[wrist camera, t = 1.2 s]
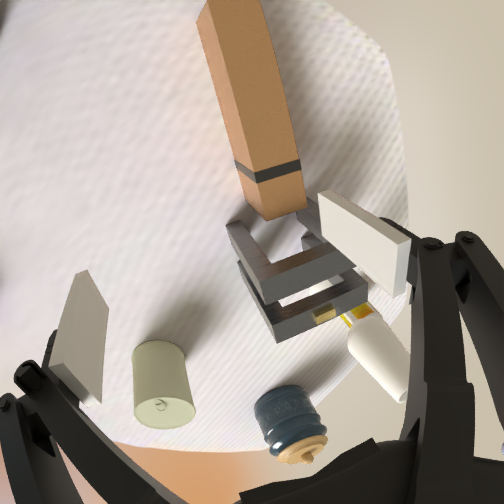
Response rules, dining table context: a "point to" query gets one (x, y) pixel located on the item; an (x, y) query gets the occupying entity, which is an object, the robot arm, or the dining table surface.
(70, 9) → the dining table surface
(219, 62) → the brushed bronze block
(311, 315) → the collar
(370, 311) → the supplement bottle
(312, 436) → the canister
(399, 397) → the champagne flute
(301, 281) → the collar
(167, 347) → the can
